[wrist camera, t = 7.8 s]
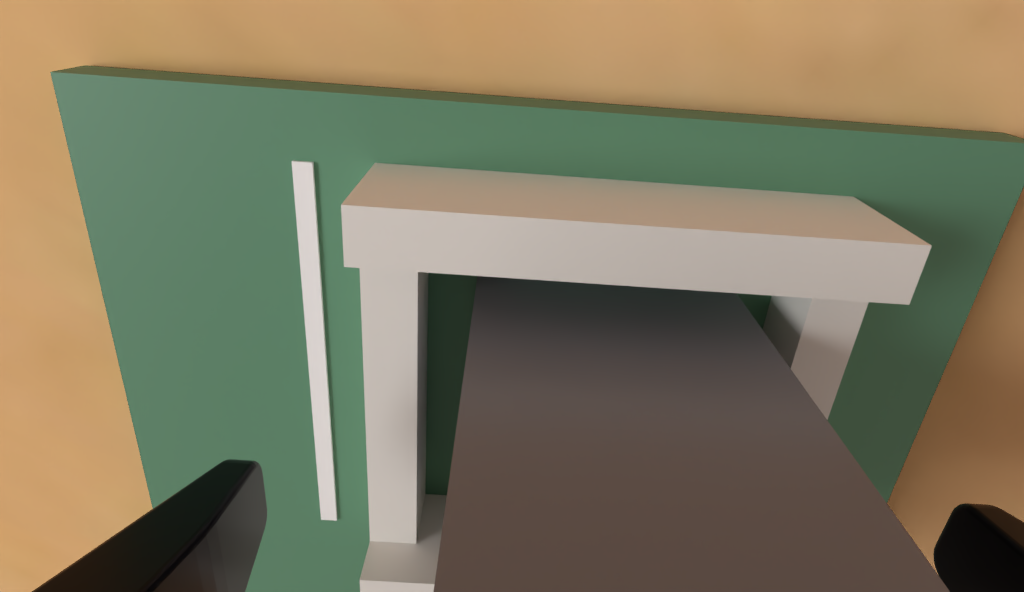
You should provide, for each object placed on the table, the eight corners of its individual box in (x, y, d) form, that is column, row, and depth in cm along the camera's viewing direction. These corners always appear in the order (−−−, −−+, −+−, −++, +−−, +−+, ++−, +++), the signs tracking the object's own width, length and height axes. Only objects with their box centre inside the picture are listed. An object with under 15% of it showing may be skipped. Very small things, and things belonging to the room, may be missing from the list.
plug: (730, 284, 10) (1067, 755, 4) (678, 498, 12) (848, 1040, 6) (478, 267, 10) (415, 722, 4) (467, 486, 12) (413, 1023, 6)
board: (1003, 132, 10) (1171, 182, 7) (809, 616, 15) (869, 746, 12) (85, 65, 10) (-71, 93, 7) (194, 582, 14) (125, 709, 12)
